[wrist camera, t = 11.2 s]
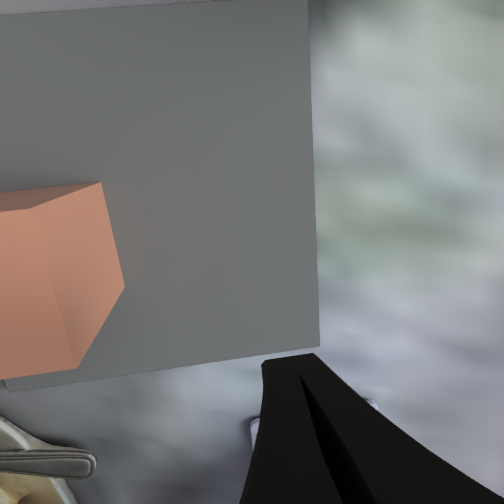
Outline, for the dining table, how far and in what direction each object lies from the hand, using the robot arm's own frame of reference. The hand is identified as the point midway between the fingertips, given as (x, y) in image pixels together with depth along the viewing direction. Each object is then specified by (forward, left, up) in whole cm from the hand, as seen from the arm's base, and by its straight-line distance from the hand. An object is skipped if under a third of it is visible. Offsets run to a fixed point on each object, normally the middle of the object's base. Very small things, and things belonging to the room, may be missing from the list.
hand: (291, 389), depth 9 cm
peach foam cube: (+2, +9, -10) cm, 13 cm away
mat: (+3, +5, -10) cm, 11 cm away
